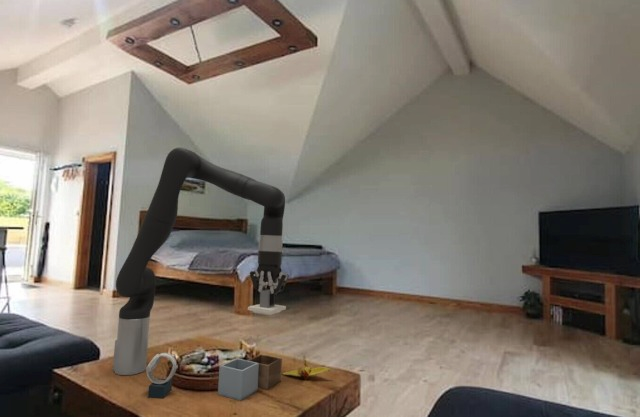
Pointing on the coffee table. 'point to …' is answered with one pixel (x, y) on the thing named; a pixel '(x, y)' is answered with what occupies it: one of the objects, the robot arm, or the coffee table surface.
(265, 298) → the lid
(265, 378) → the walnut box
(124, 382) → the coffee table surface
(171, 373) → the watch
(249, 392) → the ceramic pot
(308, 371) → the origami crane
